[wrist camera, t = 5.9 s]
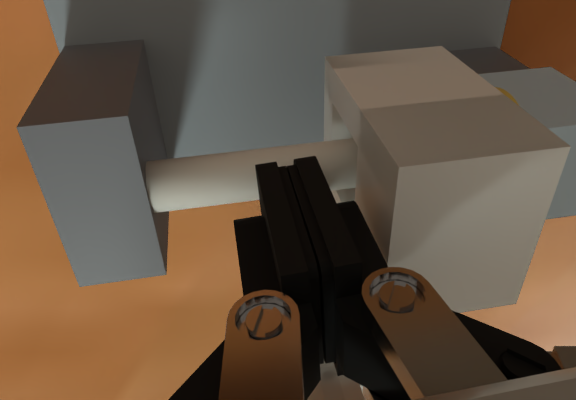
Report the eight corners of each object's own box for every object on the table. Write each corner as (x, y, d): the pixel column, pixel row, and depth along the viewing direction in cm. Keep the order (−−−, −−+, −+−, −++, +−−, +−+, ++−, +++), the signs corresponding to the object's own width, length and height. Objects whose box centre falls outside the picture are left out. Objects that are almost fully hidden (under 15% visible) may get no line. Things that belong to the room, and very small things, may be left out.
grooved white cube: (441, 45, 15) (570, 146, 10) (422, 174, 18) (515, 303, 13) (324, 56, 14) (399, 167, 9) (323, 186, 17) (380, 325, 12)
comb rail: (506, -44, 17) (678, 15, 11) (464, 158, 22) (569, 274, 16) (47, -11, 15) (-38, 81, 9) (111, 201, 20) (80, 350, 14)
